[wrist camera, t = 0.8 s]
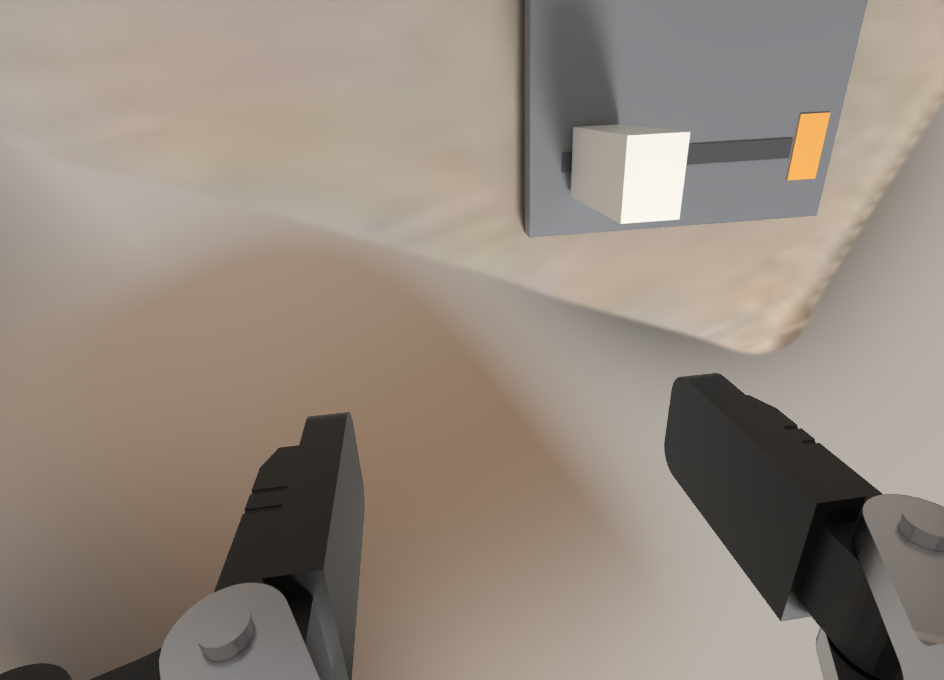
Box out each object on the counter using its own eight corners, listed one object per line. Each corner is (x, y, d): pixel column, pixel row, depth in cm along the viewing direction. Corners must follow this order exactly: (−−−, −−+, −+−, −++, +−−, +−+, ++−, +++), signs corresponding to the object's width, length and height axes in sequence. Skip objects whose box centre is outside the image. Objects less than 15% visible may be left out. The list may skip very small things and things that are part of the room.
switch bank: (524, -186, 26) (531, -203, 24) (889, -184, 28) (916, -199, 26) (524, 232, 35) (529, 237, 33) (801, 211, 37) (817, 215, 35)
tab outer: (573, 126, 31) (627, 135, 23) (622, 124, 31) (690, 131, 24) (570, 196, 32) (620, 223, 25) (617, 193, 33) (679, 219, 25)
